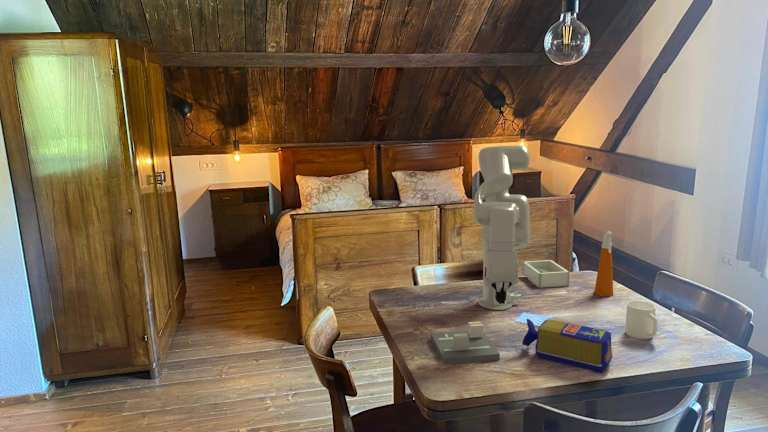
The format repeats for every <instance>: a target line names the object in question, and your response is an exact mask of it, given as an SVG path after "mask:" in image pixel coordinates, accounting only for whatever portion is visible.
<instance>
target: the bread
mask: <svg viewBox="0 0 768 432" xmlns="http://www.w3.org/2000/svg"><path fill="white" fill-rule="evenodd" d="M526 325H527V328H528V329H527V332H526V334H525V335H524V338H523V340H522V343H521V345H522V346H526V347H527V349H528V348H529V346H530V345H531V344H532V343H534V342H535V346H534V347H535V352H536V356H537V357H538V359H539V358H540V359H544V360H548V361H552V362H556V363H559V364H563V365H568V366H571V367H576V368H580V369H582V370H583V369H584V370H587V371H592V372H595V373H600V374H603V372H605V371H606V370H607V368H608V366H609V365H610V363H611V361H612V359H613V351H612V332H610V331H609V330H608V331H607V330H604V329H600V328H596V327H591V326H586V325H581V324H576V323H572V322H566V321H561V320H556V319H546V320H544V321H543V322H542V323H541V324H540V325H539V326H538V329H537V330H536V327H535V325H534V322H533V321H532V320H531V319H530V318H526Z"/></svg>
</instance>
